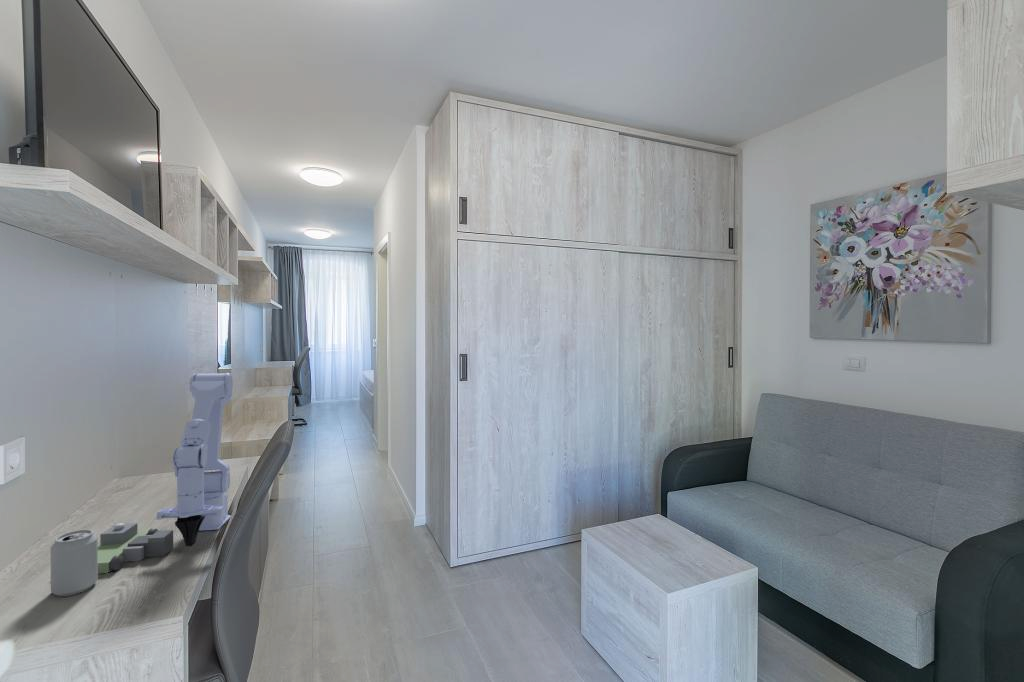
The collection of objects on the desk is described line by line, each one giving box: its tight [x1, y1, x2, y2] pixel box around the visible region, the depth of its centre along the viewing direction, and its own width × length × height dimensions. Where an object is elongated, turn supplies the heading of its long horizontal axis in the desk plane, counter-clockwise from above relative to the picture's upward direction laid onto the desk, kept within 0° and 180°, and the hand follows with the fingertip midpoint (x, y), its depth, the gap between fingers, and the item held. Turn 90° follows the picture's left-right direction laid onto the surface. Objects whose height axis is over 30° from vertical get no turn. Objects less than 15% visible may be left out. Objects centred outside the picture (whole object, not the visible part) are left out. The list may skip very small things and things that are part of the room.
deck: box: [98, 522, 159, 574], centre depth 116 cm, size 18×14×6 cm
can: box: [50, 528, 99, 597], centre depth 102 cm, size 8×8×12 cm
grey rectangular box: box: [128, 529, 174, 558], centre depth 118 cm, size 4×8×5 cm, turn 101°
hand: (190, 544), depth 120 cm, fingers closed
